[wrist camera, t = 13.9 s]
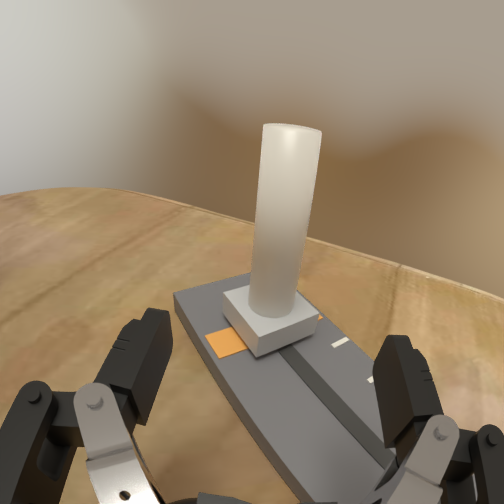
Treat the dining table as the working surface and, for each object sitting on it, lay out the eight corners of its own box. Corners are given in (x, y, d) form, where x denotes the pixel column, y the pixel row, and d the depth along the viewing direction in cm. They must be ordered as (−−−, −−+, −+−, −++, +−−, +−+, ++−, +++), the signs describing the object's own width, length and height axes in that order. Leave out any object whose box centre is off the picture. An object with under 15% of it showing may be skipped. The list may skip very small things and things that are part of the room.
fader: (222, 312, 24) (230, 121, 17) (276, 295, 26) (300, 122, 19) (256, 357, 20) (282, 137, 13) (314, 333, 23) (357, 139, 15)
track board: (174, 310, 27) (173, 291, 26) (269, 283, 32) (271, 265, 31) (387, 594, 7) (404, 593, 6) (483, 490, 12) (501, 479, 11)
